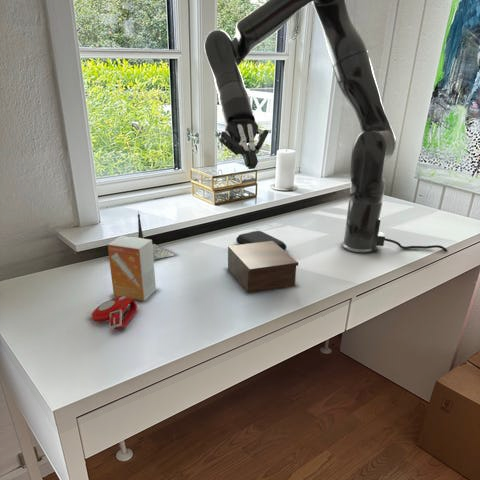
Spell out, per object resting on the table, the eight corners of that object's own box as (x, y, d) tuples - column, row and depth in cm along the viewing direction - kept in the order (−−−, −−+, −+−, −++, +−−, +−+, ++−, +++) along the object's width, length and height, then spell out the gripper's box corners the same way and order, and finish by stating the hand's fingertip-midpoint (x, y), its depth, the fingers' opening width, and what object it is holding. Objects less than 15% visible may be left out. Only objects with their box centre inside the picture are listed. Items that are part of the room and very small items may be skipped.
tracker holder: (80, 313, 101) (116, 288, 106) (90, 329, 103) (124, 304, 108) (110, 321, 92) (147, 293, 98) (120, 339, 95) (155, 311, 100)
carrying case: (230, 244, 141) (259, 260, 130) (230, 234, 139) (259, 250, 129) (259, 237, 146) (289, 252, 135) (259, 228, 144) (289, 242, 134)
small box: (113, 296, 110) (106, 244, 104) (126, 285, 115) (120, 234, 109) (144, 301, 108) (139, 248, 102) (156, 290, 113) (152, 238, 107)
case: (294, 285, 117) (296, 264, 114) (247, 293, 113) (248, 271, 110) (271, 263, 128) (272, 243, 126) (227, 269, 125) (227, 249, 122)
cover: (298, 265, 113) (298, 262, 113) (249, 272, 109) (249, 269, 109) (272, 243, 126) (272, 240, 125) (227, 248, 122) (227, 245, 121)
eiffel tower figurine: (154, 245, 139) (150, 200, 132) (174, 255, 133) (172, 208, 126) (109, 258, 130) (102, 210, 123) (128, 269, 124) (123, 220, 117)
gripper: (256, 115, 123) (272, 174, 119) (207, 117, 119) (223, 177, 115) (264, 95, 116) (282, 156, 112) (213, 96, 112) (230, 159, 108)
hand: (252, 167), depth 113 cm, fingers closed
